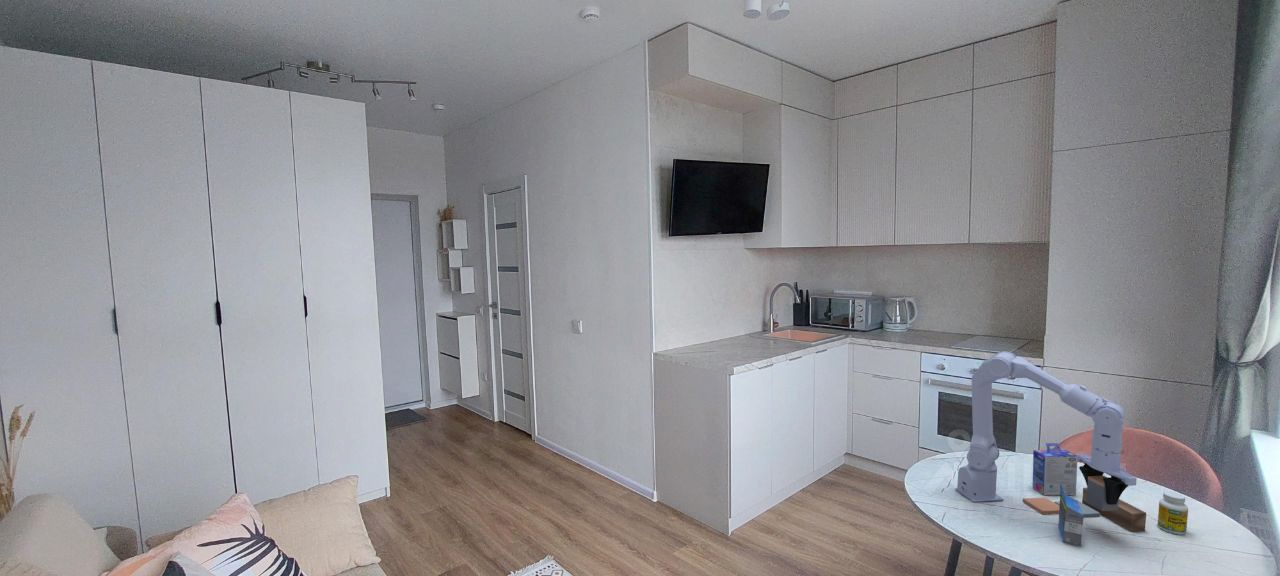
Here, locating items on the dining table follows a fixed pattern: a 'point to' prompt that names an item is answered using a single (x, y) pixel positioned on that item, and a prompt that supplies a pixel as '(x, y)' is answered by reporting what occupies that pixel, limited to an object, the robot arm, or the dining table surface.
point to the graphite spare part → (1098, 494)
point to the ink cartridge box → (1054, 471)
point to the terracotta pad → (1042, 505)
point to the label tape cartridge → (1070, 519)
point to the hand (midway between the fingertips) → (1102, 499)
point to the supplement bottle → (1173, 513)
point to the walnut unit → (1122, 515)
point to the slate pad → (1085, 510)
